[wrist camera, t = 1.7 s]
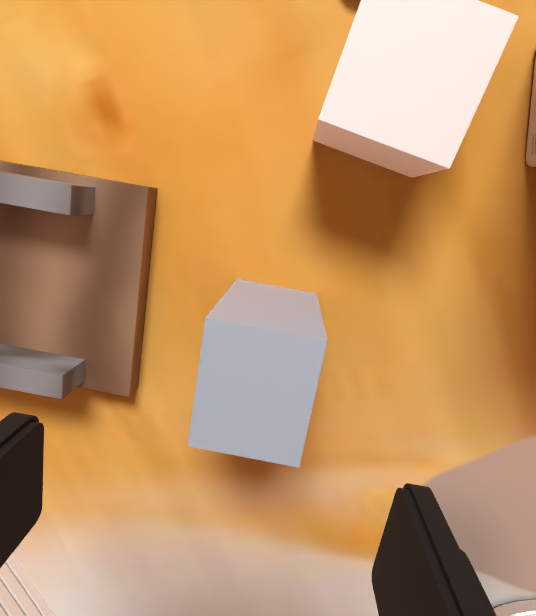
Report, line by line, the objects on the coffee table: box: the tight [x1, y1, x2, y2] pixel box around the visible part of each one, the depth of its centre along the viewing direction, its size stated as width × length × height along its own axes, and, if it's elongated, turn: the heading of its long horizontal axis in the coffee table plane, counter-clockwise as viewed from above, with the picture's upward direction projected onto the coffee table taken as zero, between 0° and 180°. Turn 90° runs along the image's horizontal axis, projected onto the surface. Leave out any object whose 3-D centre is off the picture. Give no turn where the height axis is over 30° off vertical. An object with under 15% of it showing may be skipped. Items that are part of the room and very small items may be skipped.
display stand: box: [0, 161, 157, 399], centre depth 24 cm, size 16×13×4 cm
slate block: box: [188, 279, 327, 468], centre depth 21 cm, size 5×6×9 cm
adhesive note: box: [313, 0, 519, 178], centre depth 19 cm, size 6×6×6 cm
